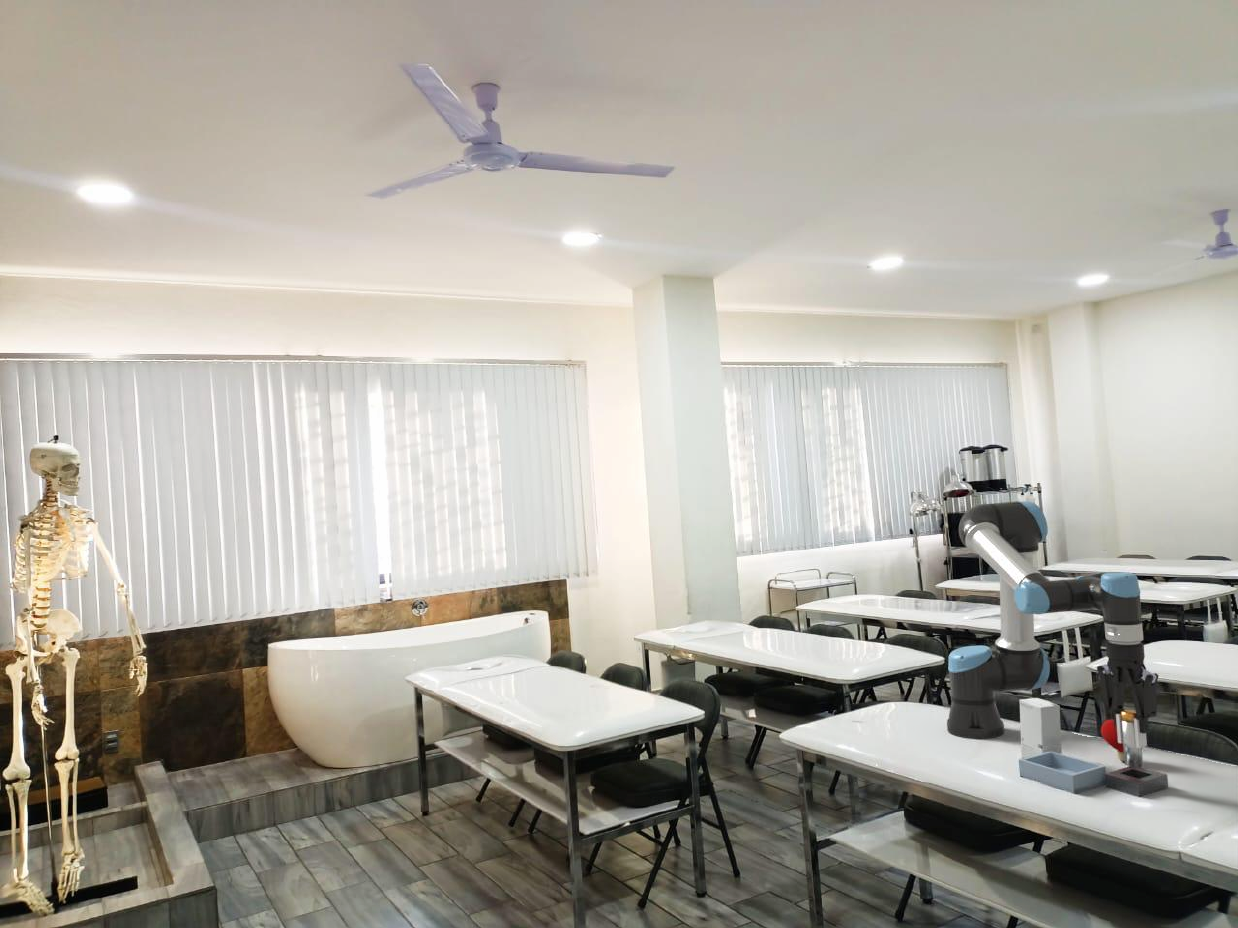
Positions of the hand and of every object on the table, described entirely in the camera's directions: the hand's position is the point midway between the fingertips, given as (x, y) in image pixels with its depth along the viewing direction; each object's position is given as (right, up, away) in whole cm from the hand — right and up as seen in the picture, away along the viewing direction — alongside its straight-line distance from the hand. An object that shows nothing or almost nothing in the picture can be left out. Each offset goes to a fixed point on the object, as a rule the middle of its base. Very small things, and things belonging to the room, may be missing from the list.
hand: (1132, 743), depth 199 cm
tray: (-12, -11, +7) cm, 18 cm away
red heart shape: (+8, -10, +16) cm, 21 cm away
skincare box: (-10, -11, +21) cm, 26 cm away
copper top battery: (0, -5, 0) cm, 5 cm away
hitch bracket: (+1, -10, -1) cm, 10 cm away
